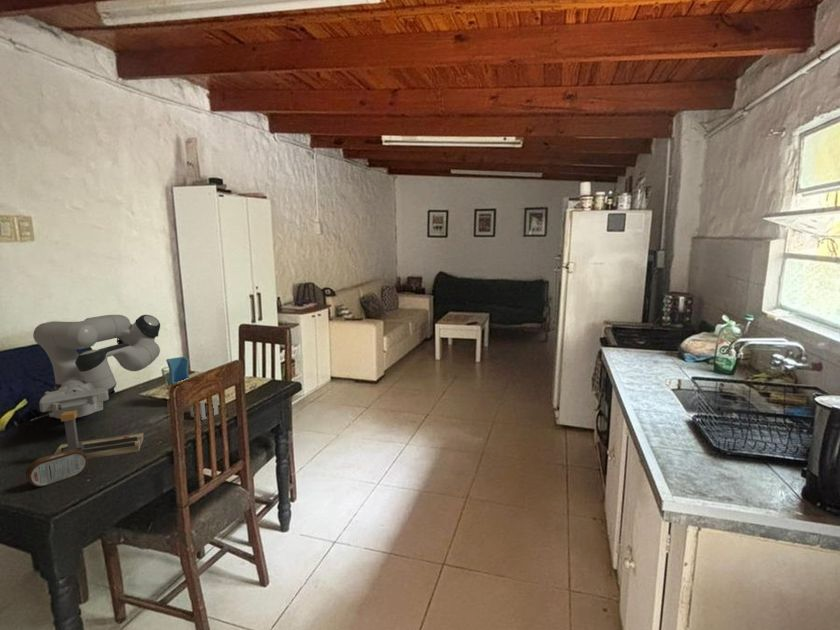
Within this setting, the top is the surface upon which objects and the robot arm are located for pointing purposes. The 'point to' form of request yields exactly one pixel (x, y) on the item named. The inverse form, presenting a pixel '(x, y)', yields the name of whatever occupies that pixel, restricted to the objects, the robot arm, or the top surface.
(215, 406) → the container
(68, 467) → the tin
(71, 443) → the fader lever
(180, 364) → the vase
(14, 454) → the top surface
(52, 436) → the top surface
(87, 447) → the fader board
